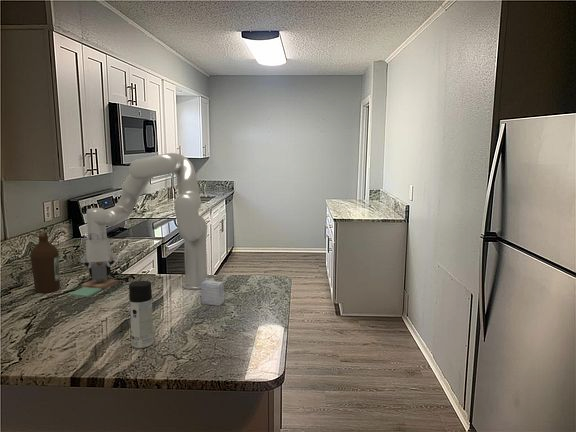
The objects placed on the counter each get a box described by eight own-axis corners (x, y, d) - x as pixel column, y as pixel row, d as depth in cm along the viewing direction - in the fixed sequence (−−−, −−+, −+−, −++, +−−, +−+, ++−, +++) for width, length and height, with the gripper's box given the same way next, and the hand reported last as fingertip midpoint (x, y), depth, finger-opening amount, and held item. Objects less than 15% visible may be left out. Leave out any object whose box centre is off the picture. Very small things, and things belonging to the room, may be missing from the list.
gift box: (107, 278, 193) (105, 263, 192) (92, 280, 191) (91, 264, 190) (108, 275, 199) (107, 260, 198) (94, 276, 197) (93, 261, 196)
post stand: (118, 282, 199) (117, 265, 198) (104, 289, 189) (103, 271, 188) (96, 280, 202) (94, 263, 200) (81, 286, 192) (79, 269, 191)
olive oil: (31, 295, 181) (25, 236, 177) (36, 287, 191) (31, 231, 187) (59, 292, 185) (55, 234, 181) (63, 284, 195) (58, 229, 191)
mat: (101, 290, 188) (101, 288, 188) (87, 297, 179) (87, 295, 179) (83, 288, 190) (83, 287, 190) (68, 295, 182) (68, 293, 181)
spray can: (134, 339, 141) (131, 280, 138) (156, 339, 141) (153, 279, 138) (128, 349, 134) (125, 286, 131) (151, 348, 135) (148, 286, 132)
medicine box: (224, 302, 174) (223, 281, 173) (219, 306, 170) (218, 285, 169) (206, 300, 177) (206, 279, 176) (201, 304, 173) (200, 283, 171)
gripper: (74, 239, 186) (77, 279, 189) (117, 236, 191) (120, 276, 194) (77, 235, 193) (80, 274, 196) (119, 233, 198) (121, 271, 201)
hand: (100, 275), depth 195 cm, fingers closed on gift box, 6 cm apart
